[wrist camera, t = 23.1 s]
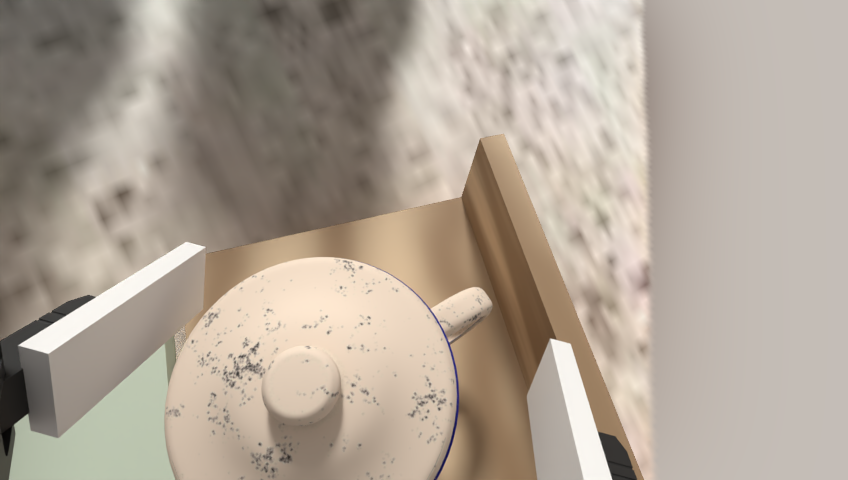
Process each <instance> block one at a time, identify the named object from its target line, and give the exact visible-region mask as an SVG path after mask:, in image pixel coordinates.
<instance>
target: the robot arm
mask: <svg viewBox="0 0 848 480" xmlns="http://www.w3.org/2000/svg"><path fill="white" fill-rule="evenodd" d="M205 256H206V247H204V246H200V245H197V244H193V243H189V242H185V243H183V244H182V245H180V246H179V247H177V248H175V249H174V250H172V251H170V252H169V253H167V254H166V255H164V256H162V257H161V258H159V259H157V260H156V261H154V262H153V263H151V264H149V265H148V266H146V267H144V268H143V269H141V270H140V271H138V272H136V273H135V274H133V275H131V276H130V277H128V278H127V279H125V280H123V281H122V282H120V283H118V284H117V285H115V286H114V287H112V288H110V289H109V290H107V291H105V292H104V293H102V294H101V295H99V296H97V297H94V296H90V295H87V296H84V297H80V298H77V299H74V300H71V301H68V302H66V303H65V304H63V305H61V306H59V307H58V308H56V309H54V310H53V311H52V312H51V313H47V314H46V315H44V316H42V317H41V318H39V320H38V321H37V320H35V321H34V322H32V323H30V324H29V325H27V326H25V327H23V328H22V329H20V330H18V331H17V332H15V333H13V334H11V335H10V336H8V337H6V338H5V339H3V340H1V341H0V480H9V475H10V468H11V461H12V455H13V448H14V441H15V435H16V433H15V427H14V424H16V423H17V422H18V421H19V420H21V419H22V418H23V417H24V416H26V415H27V414H28V417H29V423H30V430H31V431H34V432H37V433H41V434H44V435H48V436H52V437H55V438H59V437H61V436H62V435H63V434H64V433H65V432H66V431H67V430H68V429H69V428H71V427H72V426H73V425H74V424H75V423H76V422H77V421H78V420H80V419H81V418H82V417H83V416H84V415H85V414H86V413H87V412H89V411H90V410H91V409H92V408H93V407H94V406H95V405H96V404H97V403H99V402H100V401H101V400H102V399H103V398H104V397H105V396H106V395H108V394H109V393H110V392H111V391H112V390H113V389H114V388H115V387H117V386H118V385H119V384H120V383H121V382H122V381H123V380H124V379H125V378H127V377H128V376H129V375H130V374H131V373H132V372H133V371H134V370H136V369H137V368H138V367H139V366H140V365H141V364H142V363H143V362H144V361H146V360H147V359H148V358H149V357H150V356H151V355H152V354H153V353H155V352H156V351H157V350H158V349H159V348H160V347H161V346H162V345H164V344H165V343H166V342H167V341H168V340H169V339H170V338H171V337H172V336H174V335H175V334H176V333H177V332H178V331H179V330H180V329H181V328H183V327H184V326H185V325H186V324H187V323H188V322H189V321H190V320H191V319H193V318H194V317H195V316H196V315H197V314H198V313H199V312H200V311H202V310H203V301H204V279H205ZM527 403H528V411H529V419H530V427H531V434H532V442H533V450H534V458H535V466H536V473H537V480H637V477H636V475H635V472H634V470H633V469H632V468H633V466H632V464H631V461H630V458H629V455H628V453H627V451H626V450H625V448H624V447H623V446H622V444H621V443H620V442H619V440H618V439H617V438H616V436H613V435H609V434H605V433H602V432H598V431H597V428H596V425H595V422H594V418H593V415H592V412H591V409H590V405H589V402H588V399H587V396H586V392H585V389H584V386H583V382H582V379H581V376H580V373H579V369H578V366H577V363H576V360H575V356H574V353H573V350H572V347H571V344H570V343H566V342H562V341H558V340H554V339H551V338H550V340H549V342H548V345H547V347H546V350H545V352H544V355H543V357H542V360H541V362H540V364H539V367H538V369H537V372H536V374H535V377H534V379H533V382H532V384H531V387H530V389H529V391H528V394H527Z"/></svg>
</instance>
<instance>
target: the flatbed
mask: <svg viewBox="0 0 848 480" xmlns="http://www.w3.org/2000/svg"><path fill="white" fill-rule="evenodd" d="M313 257H334V258H344V259H349V260H354V261H359V262H362V263H366V264H369V265H371V266H374V267H377V268H379V269H381V270H383V271H385V272H387V273H389V274H391V275H393V276H394V277H396V278H397V279H399V280H401V281H402V282H403V283H405V284H406V285H407V286H408V287H410V288H411V289H412V290H413V291H414V292H415V293H416V294H417V295H418V296H420V297H421V299H422V300H423V301H424V302H425V303H426V304H427V305H428V307H429V308H430V309H431V308H433V307H434V306H436V305H438V304H439V303H441V302H443V301H444V300H446V299H448V298H449V297H451V296H453V295H455V294H457V293H459V292H461V291H463V290H466V289H468V288H472V287H479V288H481V289H483V290H484V291H485V293H486V294H487V296H488V297H489V299H490V300H491V302H492V306H493V307H492V310H491V312H490V314H489V315H488V316H487V317H486V318H485V319H484V320H483V321H482V322H481V323H479V324H478V325H477V326H476V327H474V328H473V329H472V330H470V331H469V332H468V333H466V334H465V335H464V336H462V337H461V338H459V339H458V340H457V341H455V342H454V343H452V344H451V345H450V347H451V349H452V352H453V356H454V360H455V364H456V368H457V375H458V382H459V412H458V419H457V426H456V431H455V435H454V439H453V443H452V446H451V449H450V452H449V455H448V458H447V460H446V462H445V464H444V467H443V469H442V471H441V473H440V475H439V477H438V478H437V480H537V473H536V466H535V458H534V450H533V442H532V434H531V427H530V419H529V411H528V403H527V394H528V391H529V389H530V387H531V384H532V382H533V379H534V377H535V374H536V372H537V369H538V367H539V364H540V362H541V360H542V357H543V355H544V352H545V350H546V347H547V345H548V342H549V340H550V338H551V339H554V340H558V341H562V342H566V343H570V344H571V347H572V350H573V353H574V356H575V360H576V363H577V366H578V369H579V373H580V376H581V379H582V382H583V386H584V389H585V392H586V396H587V399H588V402H589V405H590V409H591V412H592V415H593V418H594V422H595V425H596V428H597V431H598V432H602V433H605V434H609V435H613V436H616V438H617V439H618V440H619V442H620V443H621V444H622V446H623V447H624V448H625V450H626V451H627V453H628V455H629V458H630V461H631V464H632V466H633V468H632V469H633V470H634V472H635V475H636V477H637V480H644V479H643V476H642V474H641V471H640V469H639V466H638V464H637V461H636V459H635V456H634V454H633V451H632V449H631V447H630V444H629V442H628V439H627V437H626V434H625V432H624V429H623V427H622V424H621V422H620V419H619V417H618V414H617V412H616V410H615V407H614V405H613V402H612V400H611V397H610V395H609V392H608V390H607V387H606V385H605V382H604V380H603V377H602V375H601V372H600V370H599V368H598V365H597V363H596V360H595V358H594V355H593V353H592V350H591V348H590V345H589V343H588V340H587V338H586V335H585V333H584V330H583V328H582V326H581V323H580V321H579V318H578V316H577V313H576V311H575V308H574V306H573V303H572V301H571V298H570V296H569V293H568V291H567V288H566V286H565V284H564V281H563V279H562V276H561V274H560V271H559V269H558V266H557V264H556V261H555V259H554V256H553V254H552V251H551V249H550V247H549V244H548V242H547V239H546V237H545V234H544V232H543V229H542V227H541V224H540V222H539V219H538V217H537V214H536V212H535V209H534V207H533V205H532V202H531V200H530V197H529V195H528V192H527V190H526V187H525V185H524V182H523V180H522V177H521V175H520V172H519V170H518V167H517V165H516V163H515V160H514V158H513V155H512V153H511V150H510V148H509V145H508V143H507V140H506V138H505V135H504V134H500V135H495V136H490V137H485V138H480V141H479V144H478V147H477V150H476V153H475V156H474V159H473V163H472V166H471V169H470V172H469V175H468V178H467V181H466V184H465V187H464V191H463V194H462V197H460V198H456V199H451V200H447V201H442V202H438V203H433V204H429V205H424V206H420V207H415V208H411V209H406V210H401V211H397V212H392V213H388V214H383V215H379V216H374V217H370V218H365V219H361V220H356V221H352V222H347V223H343V224H338V225H334V226H329V227H325V228H320V229H316V230H311V231H307V232H302V233H298V234H293V235H289V236H284V237H280V238H275V239H271V240H266V241H262V242H257V243H253V244H248V245H244V246H239V247H235V248H230V249H226V250H221V251H217V252H212V253H208V254H206V256H205V279H204V301H203V310H202V311H200V312H199V313H198V314H197V315H196V316H195V317H194V318H193V319H191V320H190V321H189V322H188V323H187V324H186V325H185V332H186V340H187V339H188V337H189V335H190V334H191V332H192V330H193V329H194V328H195V326H196V325H197V323H198V322H199V321H200V319H201V318H202V317H203V316H204V315H205V313H206V312H207V311H208V310H209V309H210V308H211V307H212V306H213V305H214V304H215V303H216V302H217V301H218V300H219V299H220V298H221V297H222V296H223V295H225V294H226V293H227V292H228V291H229V290H230V289H232V288H233V287H235V286H236V285H238V284H239V283H240V282H242V281H244V280H245V279H247V278H249V277H250V276H252V275H254V274H256V273H258V272H260V271H262V270H264V269H267V268H269V267H272V266H275V265H278V264H281V263H284V262H288V261H292V260H297V259H303V258H313Z"/></svg>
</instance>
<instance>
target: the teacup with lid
mask: <svg viewBox="0 0 848 480" xmlns="http://www.w3.org/2000/svg"><path fill="white" fill-rule="evenodd" d="M492 307H493V306H492V302H491V300H490V299H489V297H488V296H487V294H486V293H485V291H484V290H483V289H481V288H479V287H472V288H468V289H466V290H463V291H461V292H459V293H457V294H455V295H453V296H451V297H449V298H448V299H446V300H444V301H443V302H441V303H439V304H438V305H436V306H434V307H433V308H431V309H430V308H429V307H428V305H427V304H426V303H425V302H424V301H423V300H422V299H421V297H420V296H418V295H417V294H416V293H415V292H414V291H413V290H412V289H411V288H410V287H408V286H407V285H406V284H405V283H403V282H402V281H401V280H399V279H397V278H396V277H394V276H393V275H391V274H389V273H387V272H385V271H383V270H381V269H379V268H377V267H374V266H371V265H369V264H366V263H362V262H359V261H354V260H349V259H344V258H334V257H313V258H303V259H297V260H292V261H288V262H284V263H281V264H278V265H275V266H272V267H269V268H267V269H264V270H262V271H260V272H258V273H256V274H254V275H252V276H250V277H249V278H247V279H245V280H244V281H242V282H240V283H239V284H238V285H236V286H235V287H233V288H232V289H230V290H229V291H228V292H227V293H226V294H225V295H223V296H222V297H221V298H220V299H219V300H218V301H217V302H216V303H215V304H214V305H213V306H212V307H211V308H210V309H209V310H208V311H207V312H206V313H205V315H204V316H203V317H202V318H201V319H200V321H199V322H198V323H197V325H196V326H195V328H194V329H193V330H192V332H191V334H190V335H189V337H188V339H187V340H186V342H185V344H184V346H183V348H182V350H181V352H180V354H179V356H178V358H177V361H176V364H175V366H174V369H173V372H172V375H171V379H170V382H169V386H168V391H167V397H166V403H165V415H164V427H165V440H166V448H167V453H168V457H169V462H170V465H171V468H172V471H173V474H174V477H175V479H176V480H437V478H438V477H439V475H440V473H441V471H442V469H443V467H444V464H445V462H446V460H447V458H448V455H449V452H450V449H451V446H452V443H453V439H454V435H455V431H456V426H457V419H458V412H459V382H458V375H457V368H456V364H455V360H454V356H453V352H452V349H451V347H450V345H451V344H452V343H454V342H455V341H457V340H458V339H459V338H461V337H462V336H464V335H465V334H466V333H468V332H469V331H470V330H472V329H473V328H474V327H476V326H477V325H478V324H479V323H481V322H482V321H483V320H484V319H485V318H486V317H487V316H488V315H489V314H490V312H491V310H492Z"/></svg>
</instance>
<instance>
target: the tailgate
mask: <svg viewBox="0 0 848 480" xmlns="http://www.w3.org/2000/svg"><path fill="white" fill-rule="evenodd" d="M175 364H176V351H175V339H174V336H172V337H171V338H170V339H169V340H168V341H167V342H166V343H165V344H164V345H162V346H161V347H160V348H159V349H158V350H157V351H156V352H155V353H153V354H152V355H151V356H150V357H149V358H148V359H147V360H146V361H144V362H143V363H142V364H141V365H140V366H139V367H138V368H137V369H136V370H134V371H133V372H132V373H131V374H130V375H129V376H128V377H127V378H125V379H124V380H123V381H122V382H121V383H120V384H119V385H118V386H117V387H115V388H114V389H113V390H112V391H111V392H110V393H109V394H108V395H106V396H105V397H104V398H103V399H102V400H101V401H100V402H99V403H97V404H96V405H95V406H94V407H93V408H92V409H91V410H90V411H89V412H87V413H86V414H85V415H84V416H83V417H82V418H81V419H80V420H78V421H77V422H76V423H75V424H74V425H73V426H72V427H71V428H69V429H68V430H67V431H66V432H65V433H64V434H63V435H62V436H61V437H59V438H55V437H52V436H48V435H44V434H41V433H37V432H34V431H31V430H30V423H29V417H28V414H27V415H26V416H24V417H23V418H22V419H21V420H19V421H18V422H17V423H16V424H14V427H15V433H16V435H15V441H14V448H13V455H12V461H11V468H10V475H9V480H176V479H175V477H174V474H173V471H172V468H171V465H170V462H169V457H168V453H167V448H166V440H165V427H164V415H165V403H166V397H167V391H168V386H169V382H170V379H171V375H172V372H173V369H174V366H175Z"/></svg>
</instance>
